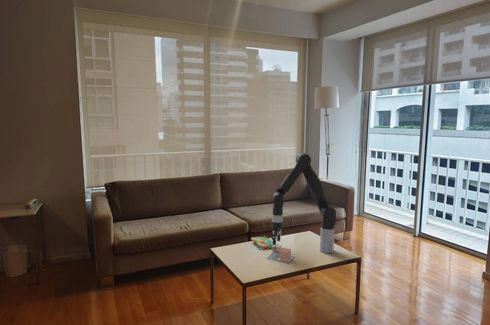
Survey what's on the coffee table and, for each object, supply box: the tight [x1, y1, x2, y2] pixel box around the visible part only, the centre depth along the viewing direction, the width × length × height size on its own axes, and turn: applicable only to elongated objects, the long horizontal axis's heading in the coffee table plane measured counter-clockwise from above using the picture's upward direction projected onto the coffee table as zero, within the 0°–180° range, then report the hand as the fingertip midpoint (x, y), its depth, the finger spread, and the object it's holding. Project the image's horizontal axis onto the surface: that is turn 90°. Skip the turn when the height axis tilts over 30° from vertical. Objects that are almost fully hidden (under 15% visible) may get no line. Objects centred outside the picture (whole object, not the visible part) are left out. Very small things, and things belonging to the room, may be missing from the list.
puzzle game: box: [250, 235, 273, 250], centre depth 243 cm, size 12×5×20 cm
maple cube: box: [271, 243, 282, 253], centre depth 231 cm, size 5×5×5 cm
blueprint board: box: [265, 251, 296, 265], centre depth 218 cm, size 16×13×2 cm
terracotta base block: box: [278, 247, 292, 261], centre depth 216 cm, size 6×6×6 cm
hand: (276, 242), depth 230 cm, fingers open, 8 cm apart
